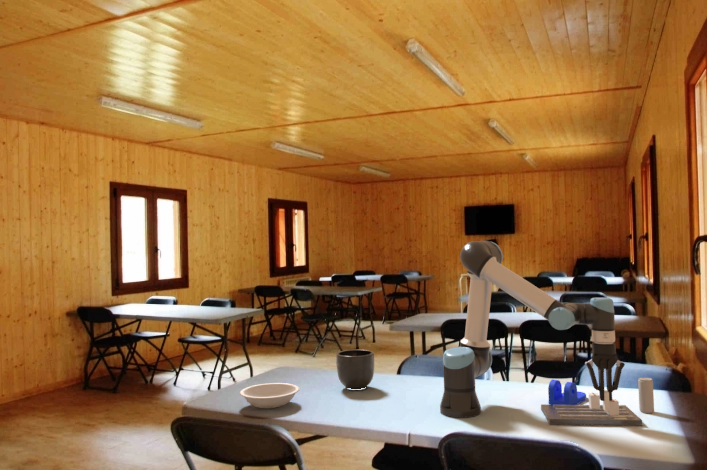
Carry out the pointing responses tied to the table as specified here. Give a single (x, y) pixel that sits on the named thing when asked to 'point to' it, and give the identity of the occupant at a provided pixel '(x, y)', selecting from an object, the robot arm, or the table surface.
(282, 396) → the soup bowl
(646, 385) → the beverage can
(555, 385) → the bracket
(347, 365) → the planter
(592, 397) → the fader
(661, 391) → the table surface
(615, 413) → the fader
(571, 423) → the console
